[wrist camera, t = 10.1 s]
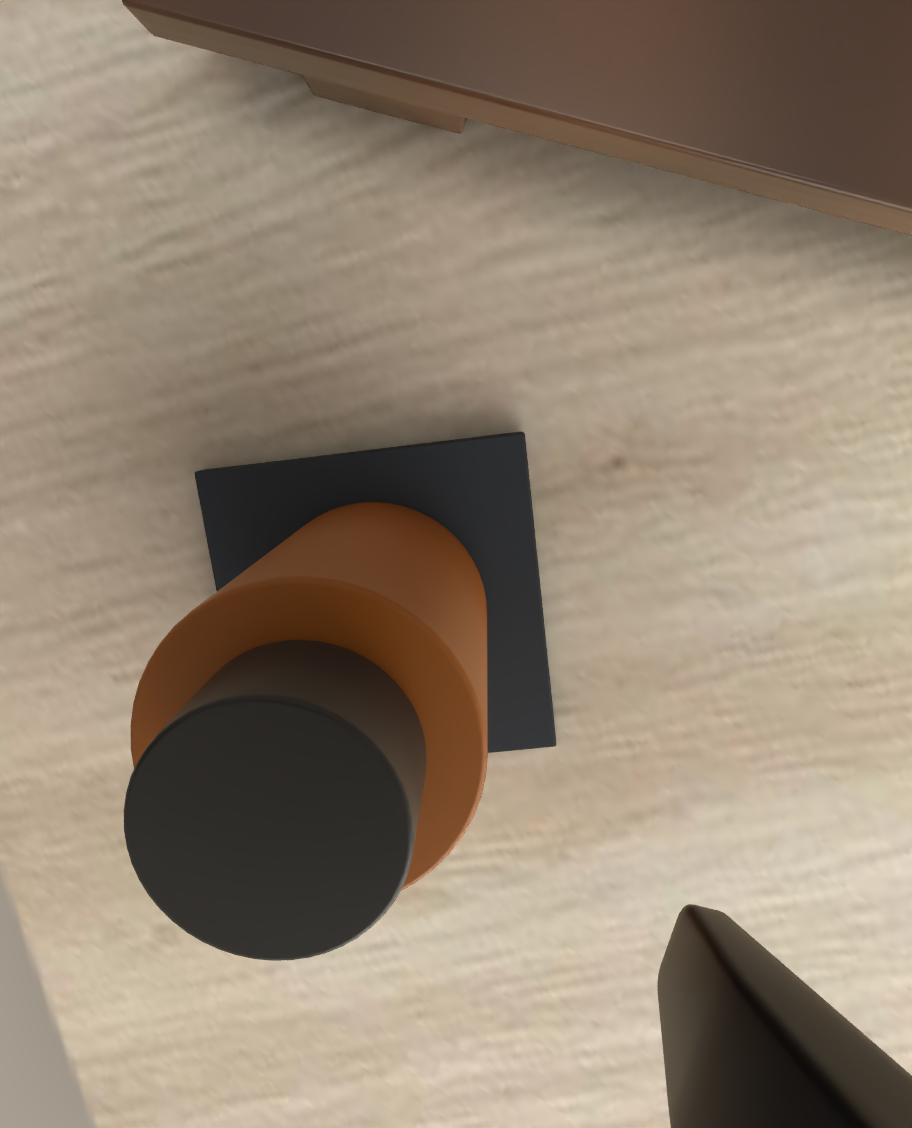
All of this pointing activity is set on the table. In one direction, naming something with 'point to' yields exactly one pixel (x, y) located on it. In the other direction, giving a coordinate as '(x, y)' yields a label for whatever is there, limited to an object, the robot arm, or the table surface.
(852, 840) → the table surface
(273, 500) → the coaster
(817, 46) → the shelf
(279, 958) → the spice bottle
